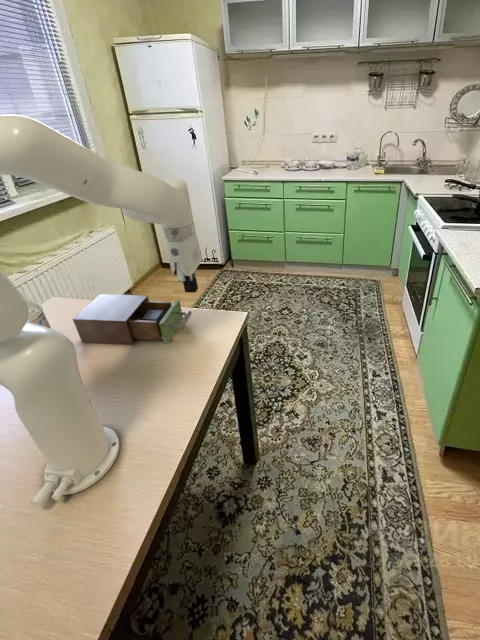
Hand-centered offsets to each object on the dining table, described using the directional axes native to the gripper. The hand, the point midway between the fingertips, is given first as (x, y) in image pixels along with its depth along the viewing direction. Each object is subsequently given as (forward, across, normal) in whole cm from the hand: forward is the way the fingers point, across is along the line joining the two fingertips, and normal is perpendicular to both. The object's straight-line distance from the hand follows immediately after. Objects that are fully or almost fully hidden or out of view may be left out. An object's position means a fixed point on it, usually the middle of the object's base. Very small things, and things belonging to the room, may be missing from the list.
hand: (191, 290), depth 90 cm
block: (+13, 0, +13) cm, 18 cm away
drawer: (+14, 0, +12) cm, 19 cm away
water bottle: (+15, -20, +31) cm, 40 cm away
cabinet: (+15, 0, +25) cm, 29 cm away
